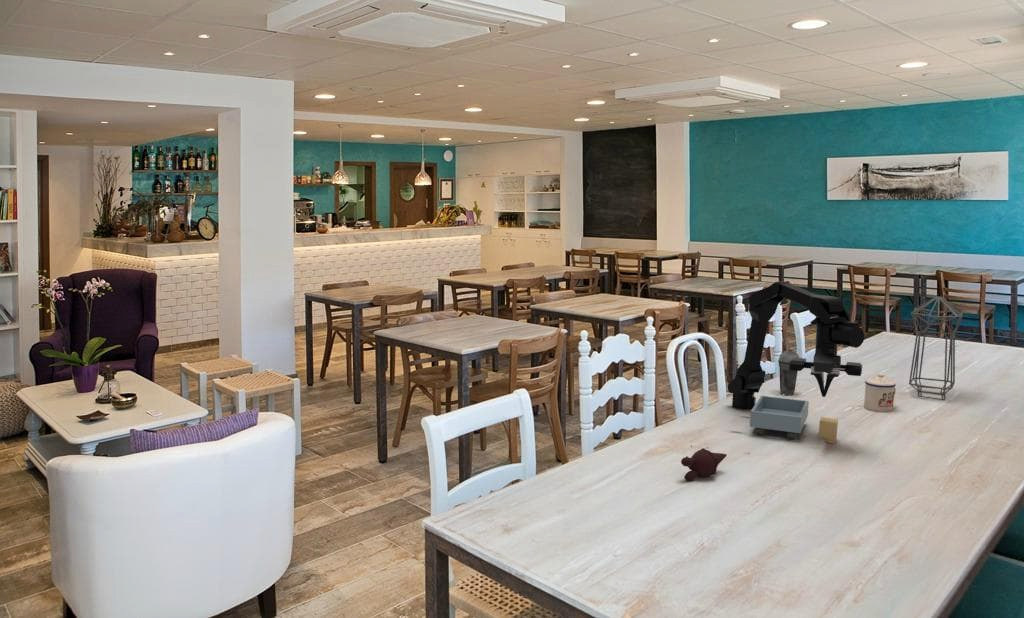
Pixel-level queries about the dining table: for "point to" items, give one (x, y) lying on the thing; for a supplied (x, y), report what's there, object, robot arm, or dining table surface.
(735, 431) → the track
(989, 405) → the dining table surface
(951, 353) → the geometric lantern
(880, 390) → the teacup with lid
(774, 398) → the box
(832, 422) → the ochre block
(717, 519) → the dining table surface
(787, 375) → the beverage cup
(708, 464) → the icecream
